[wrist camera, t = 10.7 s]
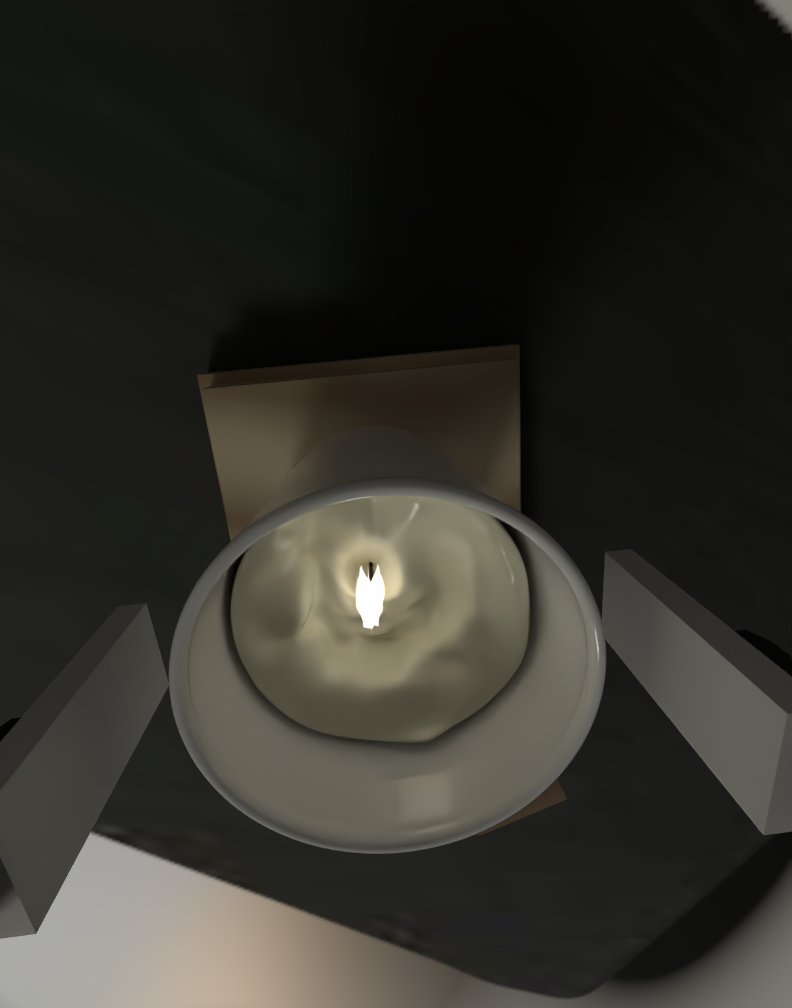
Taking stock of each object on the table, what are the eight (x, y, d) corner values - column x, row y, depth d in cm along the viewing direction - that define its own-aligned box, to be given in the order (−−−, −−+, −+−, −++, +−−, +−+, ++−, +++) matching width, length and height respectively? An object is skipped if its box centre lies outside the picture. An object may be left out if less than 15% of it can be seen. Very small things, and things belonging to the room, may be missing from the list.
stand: (207, 372, 23) (185, 377, 20) (510, 344, 24) (530, 345, 21) (259, 638, 28) (248, 672, 25) (514, 609, 28) (531, 639, 25)
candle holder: (245, 417, 21) (112, 511, 10) (480, 393, 21) (618, 457, 10) (284, 624, 24) (217, 880, 13) (488, 600, 25) (602, 829, 13)
